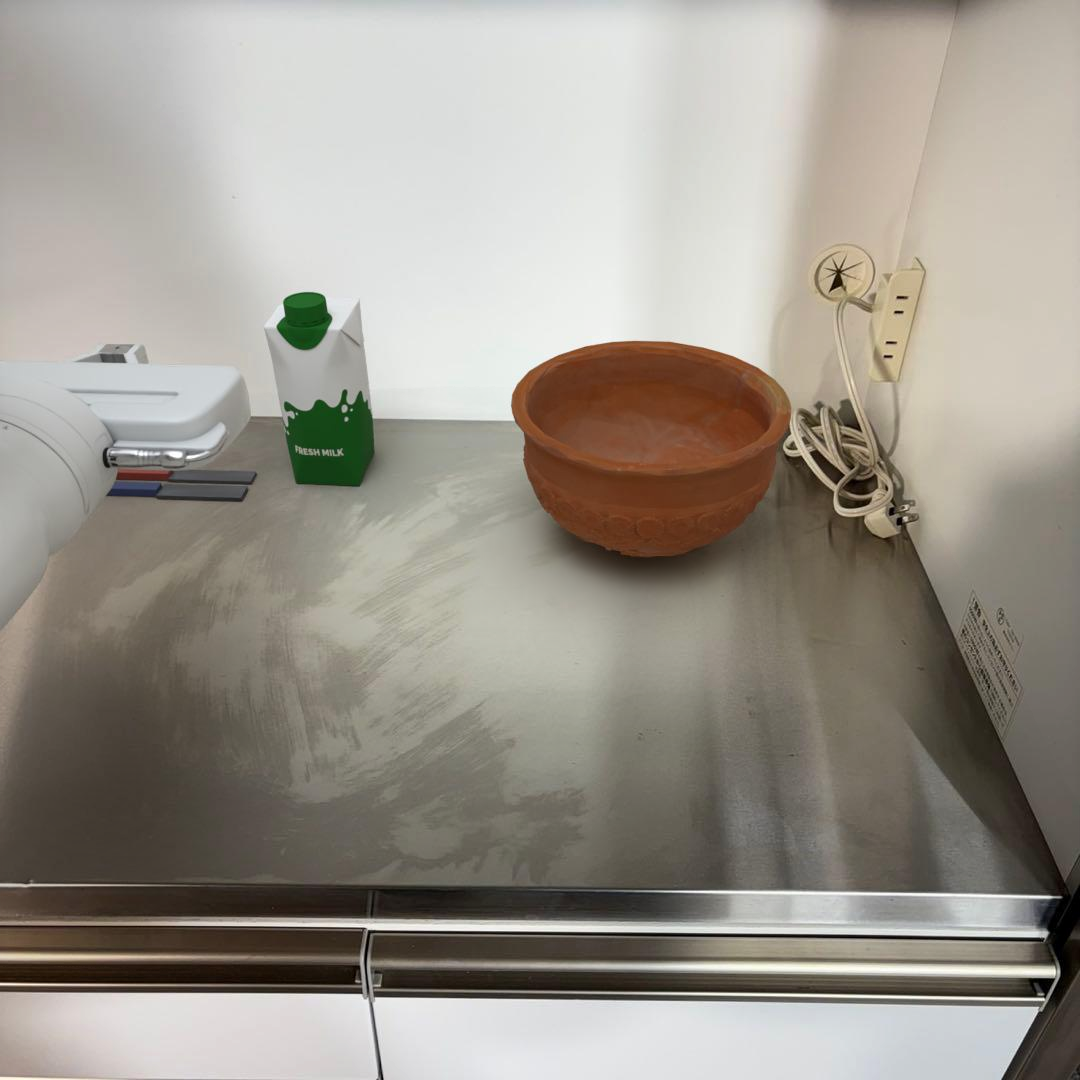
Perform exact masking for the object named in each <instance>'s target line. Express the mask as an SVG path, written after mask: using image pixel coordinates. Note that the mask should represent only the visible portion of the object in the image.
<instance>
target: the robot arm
mask: <svg viewBox="0 0 1080 1080" xmlns="http://www.w3.org/2000/svg"><path fill="white" fill-rule="evenodd" d="M148 358H149V357H148V354H147V350H146V347H145V345H143V344H131V343H129V344H127V343H126V344H123V343H121V344H120V343H119V344H118V343H117V344H115V343H99V344H97V346H96V347H94V349H93V350H91V352H87V353H83V354H80V355H78V356H77V355H76V356H74V357H71V358H68V359H65V360H62V361H51V360H50V361H49V360H48V361H47V360H46V361H44V360H43V361H41V360H8V359H7V360H5V359H4V360H2V359H0V632H2V630H3V629H5V627H6V626H7V625H8V624H9V622H11V620H12V619H13V618H14V616H15V615H17V613H18V612H19V610H20V609H22V607H23V606H24V604H25V603H26V602H27V601H28V599H29V598H30V597H31V596H32V594H33V593H34V592H35V590H36V589H37V588H38V586H39V585H40V583H41V582H42V580H43V578H44V576H45V574H46V571H47V569H48V565H49V561H50V557H52V556H54V555H55V554H57V553H58V552H60V551H61V550H63V549H64V548H66V547H67V546H68V545H69V544H70V543H71V542H72V541H73V540H74V538H75V537H76V536H77V535H78V533H79V532H80V531H81V529H82V528H83V527H84V526H85V524H86V523H87V522H88V521H89V519H90V518H91V517H92V515H93V513H95V511H96V510H97V508H98V507H99V506H100V504H101V502H103V500H104V499H105V497H106V496H108V495H107V494H108V492H109V491H110V490H111V488H112V486H113V485H114V482H115V481H116V480H117V479H116V476H117V471H118V469H133V470H168V471H181V470H197V469H200V468H202V467H204V466H207V465H209V464H210V463H212V462H213V461H215V460H216V459H217V458H219V457H220V456H222V455H223V453H224V452H225V451H226V450H227V449H228V448H229V447H230V446H231V445H232V444H233V443H234V442H235V441H236V439H237V438H238V437H239V436H240V434H241V433H242V432H243V431H244V430H245V429H246V427H247V425H248V424H249V422H250V420H251V416H252V410H251V401H250V396H249V391H248V387H247V383H246V379H245V377H244V375H243V374H242V373H241V372H240V371H239V369H237V368H236V367H234V366H232V365H223V364H222V365H218V364H217V365H216V364H215V365H211V364H171V363H170V364H168V363H149V359H148Z"/></svg>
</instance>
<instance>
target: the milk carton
mask: <svg viewBox="0 0 1080 1080" xmlns="http://www.w3.org/2000/svg"><path fill="white" fill-rule="evenodd" d="M361 311H362V310H361V299H360V298H354V297H353V298H351V297H350V298H349V297H326V296H325V295H324V294H322V293H319V292H315V291H302V292H296V293H293V294H290V295H287V296H286V297H285V298H284V299H283V301H282V303H281V304H279V305H277V307H276V308H275V311H274V312H273V313H272V315H271V316H270V317H269V319H268V320H267V321H266V323H265V324H264V326H263V330H264V333H265V337H266V342H267V346H268V350H269V353H270V358H271V363H272V368H273V375H274V380H275V385H276V390H277V396H278V401H279V407H280V412H281V418H282V424H283V429H284V434H285V440H286V445H287V450H288V454H289V458H290V463H291V467H292V473H293V476H294V481H295V484H305V485H307V484H308V485H329V486H350V487H360V486H361V484H362V482H363V479H364V477H365V475H366V473H367V470H368V468H369V465H370V463H371V461H372V459H373V456H374V455H375V435H374V418H373V408H372V400H371V391H370V383H369V374H368V365H367V364H368V363H367V357H366V350H365V343H364V342H365V337H364V333H363V323H362V322H363V321H362V312H361Z"/></svg>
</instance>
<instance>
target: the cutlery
mask: <svg viewBox="0 0 1080 1080" xmlns="http://www.w3.org/2000/svg"><path fill="white" fill-rule="evenodd" d="M257 476H258V473H257V471H255V470H254V471H253V470H252V471H251V470H218V469H217V470H216V469H191V470H181V471H168V470H133V469H118V471H117V476H116V480H129V481H116V480H115V482H114V485H113V486H112V488H111V490H110V491H109V492H108V494H107V495H106V496H116V497H117V496H118V497H119V496H120V497H121V496H122V497H149V498H150V497H151V498H152V497H154V498H155V497H156V499H157V500H183V501H184V500H185V501H215V502H216V501H217V502H219V501H220V502H243V500H244V498H245V497H246V495H247V493H248V491H249V487H248V485H252V484H253V482H254V481H255V480H256V477H257ZM130 480H133V481H130ZM135 480H136V481H135ZM147 481H150V482H147ZM151 481H152V482H151ZM153 481H166V482H168V483H163V484H162V482H153ZM181 483H182V484H181ZM183 483H192V484H183ZM193 483H194V484H193ZM197 483H198V484H197ZM215 484H216V485H215ZM217 484H219V485H217ZM220 484H230V485H220ZM231 484H233V485H231Z"/></svg>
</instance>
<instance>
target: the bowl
mask: <svg viewBox="0 0 1080 1080" xmlns="http://www.w3.org/2000/svg"><path fill="white" fill-rule="evenodd" d="M510 407H511V413H512V416H513V419H514V422H515V424H516V425H517V426H518V428H519V429H520V430H521V432H523V437H524V438H523V439H524V445H523V449H522V450H523V458H522V461H523V466H524V469H525V473H526V476H527V479H528V481H529V482H530V484H531V487H532V490H533V493H534V494H535V496H536V498H537V500H538V502H539V504H540V506H541V507H542V509H543V510H544V511H545V512H546V513H547V514H549V515H550V516H551V517H552V518H553V519H554V521H556V522H557V523H558V525H559V526H560V527H561V528H562V529H564V530H565V531H567V532H569V533H571V534H572V535H574V536H576V537H577V538H578V539H581V540H582V541H584V542H586V543H591V544H592V543H593V544H596V545H598V546H601V547H603V548H605V550H607V551H610V552H611V551H615V552H620V555H623V556H630V557H640V558H641V557H643V558H653V557H673V556H679V555H683V554H684V555H685V554H687V552H690V551H692V550H693V549H697V548H703V547H706V546H709V545H710V544H713V543H715V542H716V541H717V540H719V539H720V538H722V537H725V536H727V535H728V534H730V533H732V532H733V531H734V530H736V529H737V528H738V527H740V526H741V525H742V524H744V522H745V521H746V519H747V518H748V516H749V515H750V514H752V513H754V511H755V510H756V507H757V506H758V503H760V502H761V501H763V499H764V498H765V495H766V494H767V492H768V490H769V489H770V486H771V483H772V481H773V477H774V473H775V470H776V464H777V458H776V456H777V451H778V446H779V445H778V444H779V443H780V441H781V440H782V438H783V437H784V435H785V434H786V433H787V431H788V430H789V427H790V425H791V424H790V423H791V419H792V405H791V401H790V397H789V396H788V394H787V393H786V390H785V389H784V388H783V387H782V385H780V384H779V383H778V381H776V379H775V378H773V377H772V376H770V375H769V374H768V373H766V372H765V371H763V370H762V369H761V368H759V367H758V366H755V365H753V364H751V363H749V362H748V361H745V360H742V359H741V358H739V357H736V356H734V355H731V354H729V353H728V354H727V353H725V352H721V351H719V350H714V349H710V348H707V347H702V346H699V345H698V346H697V345H692V344H685V343H679V342H674V341H664V340H663V341H660V340H657V341H656V340H623V341H610V342H604V343H603V342H602V343H596V344H591V345H585V346H582V347H578V348H576V349H573V350H570V351H567V352H564V353H561V354H558V355H556V356H553V357H552V358H551V357H550V359H547V360H546V361H543V362H542V363H539V364H538V365H536V366H535V367H533V368H532V369H530V370H529V371H527V372H526V374H525V375H524V376H523V377H522V378H521V380H519V382H518V383H517V384H516V386H515V388H514V390H513V391H512V394H511V403H510Z"/></svg>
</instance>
